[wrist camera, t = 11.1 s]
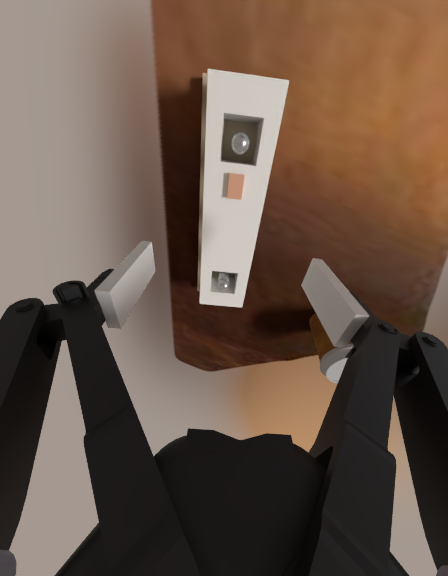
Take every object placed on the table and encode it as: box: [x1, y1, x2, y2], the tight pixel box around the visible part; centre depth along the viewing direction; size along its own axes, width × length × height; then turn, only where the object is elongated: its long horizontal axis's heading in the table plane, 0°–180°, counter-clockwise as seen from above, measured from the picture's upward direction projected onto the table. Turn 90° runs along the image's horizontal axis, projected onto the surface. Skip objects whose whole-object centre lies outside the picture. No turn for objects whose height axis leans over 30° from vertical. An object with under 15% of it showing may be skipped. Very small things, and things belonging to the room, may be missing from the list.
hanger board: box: [197, 73, 289, 292], centre depth 29 cm, size 28×9×2 cm, turn 174°
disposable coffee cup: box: [309, 313, 354, 384], centre depth 37 cm, size 10×10×12 cm
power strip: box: [200, 69, 289, 307], centre depth 26 cm, size 26×7×6 cm, turn 174°
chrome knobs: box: [218, 132, 250, 290], centre depth 26 cm, size 19×2×7 cm, turn 174°
